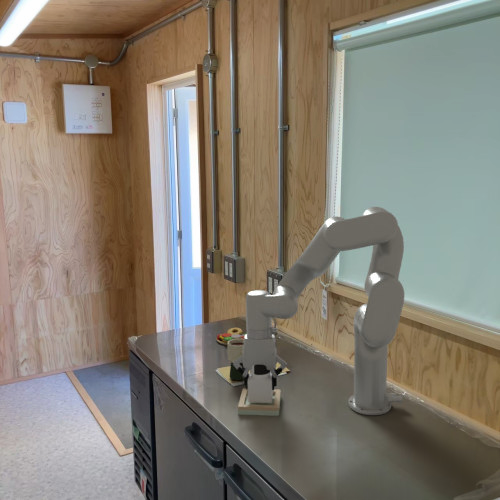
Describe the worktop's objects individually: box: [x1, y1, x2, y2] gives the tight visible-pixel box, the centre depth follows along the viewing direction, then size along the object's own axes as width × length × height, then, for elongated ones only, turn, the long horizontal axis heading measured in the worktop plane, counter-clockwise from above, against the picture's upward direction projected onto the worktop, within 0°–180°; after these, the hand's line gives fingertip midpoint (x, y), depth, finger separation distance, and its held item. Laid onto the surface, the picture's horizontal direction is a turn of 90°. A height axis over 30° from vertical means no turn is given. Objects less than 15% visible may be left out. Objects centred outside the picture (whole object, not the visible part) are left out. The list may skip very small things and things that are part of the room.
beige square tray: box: [237, 387, 282, 417], centre depth 160 cm, size 12×12×2 cm
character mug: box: [226, 339, 245, 381], centre depth 179 cm, size 11×7×13 cm, turn 25°
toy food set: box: [215, 327, 247, 346], centre depth 216 cm, size 13×13×3 cm
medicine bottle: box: [248, 365, 273, 403], centre depth 159 cm, size 7×7×12 cm
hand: (260, 387), depth 159 cm, fingers closed on medicine bottle, 7 cm apart
